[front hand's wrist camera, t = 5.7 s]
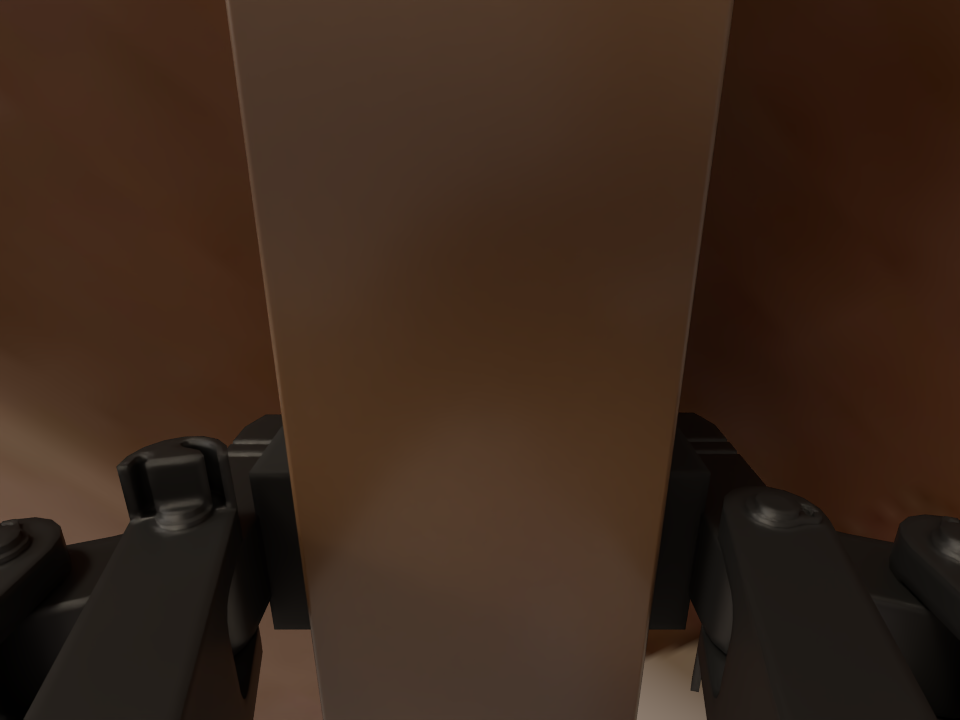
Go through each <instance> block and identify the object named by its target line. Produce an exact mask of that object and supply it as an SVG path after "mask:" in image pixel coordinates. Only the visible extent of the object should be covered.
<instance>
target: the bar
mask: <svg viewBox="0 0 960 720" xmlns="http://www.w3.org/2000/svg"><path fill="white" fill-rule="evenodd" d="M225 3H226V10H227V18H228V25H229V32H230V40H231V47H232V54H233V62H234V69H235V76H236V84H237V91H238V98H239V106H240V113H241V120H242V128H243V135H244V142H245V150H246V157H247V165H248V172H249V179H250V187H251V194H252V201H253V209H254V216H255V223H256V231H257V238H258V245H259V253H260V260H261V267H262V275H263V282H264V289H265V297H266V304H267V311H268V319H269V326H270V333H271V341H272V348H273V356H274V363H275V370H276V378H277V385H278V392H279V400H280V407H281V414H282V422H283V429H284V436H285V444H286V451H287V458H288V466H289V473H290V480H291V488H292V495H293V502H294V510H295V517H296V524H297V532H298V539H299V547H300V554H301V561H302V569H303V576H304V583H305V591H306V598H307V605H308V613H309V620H310V627H311V635H312V642H313V649H314V657H315V664H316V671H317V679H318V686H319V693H320V701H321V708H322V715H323V720H636V719H637V712H638V704H639V697H640V690H641V682H642V675H643V668H644V660H645V653H646V646H647V638H648V631H649V624H650V616H651V609H652V602H653V594H654V587H655V580H656V572H657V565H658V557H659V550H660V543H661V535H662V528H663V521H664V513H665V506H666V499H667V491H668V484H669V477H670V469H671V462H672V455H673V447H674V440H675V433H676V425H677V418H678V410H679V403H680V396H681V388H682V381H683V374H684V366H685V359H686V352H687V344H688V337H689V330H690V322H691V315H692V308H693V300H694V293H695V285H696V278H697V271H698V263H699V256H700V249H701V241H702V234H703V227H704V219H705V212H706V205H707V197H708V190H709V183H710V175H711V168H712V161H713V153H714V146H715V138H716V131H717V124H718V116H719V109H720V102H721V94H722V87H723V80H724V72H725V65H726V58H727V50H728V43H729V36H730V28H731V21H732V13H733V6H734V0H225Z"/></svg>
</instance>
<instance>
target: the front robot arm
mask: <svg viewBox="0 0 960 720" xmlns="http://www.w3.org/2000/svg"><path fill="white" fill-rule="evenodd" d="M117 471H118V475H119V478H120V482H121V486H122V490H123V494H124V498H125V502H126V505H127V509H128V513H129V517H130V523H129V524H128V526H127V528H126V530H125V532H124V534H121V535H117V536H113V537H108V538H102V539H97V540H92V541H87V542H82V543H76V544H71V545H66V543H65V540H64V536H63V533H62V530H61V527H60V526H59V525H58V524H57V523H55V522H54V521H53V520H51V519H44V518H37V517H34V518H24V519H12V520H7V521H2V523H0V720H253V717H254V710H255V703H256V696H257V688H258V681H259V674H260V667H261V659H262V652H263V651H262V643H261V637H260V631H259V623H260V621H261V619H262V617H263V614H264V612H265V610H266V608H267V606H268V604H269V601H270V606H271V612H272V618H273V624H274V629H311V627H310V620H309V613H308V605H307V598H306V591H305V583H304V576H303V569H302V561H301V554H300V547H299V539H298V532H297V524H296V517H295V510H294V502H293V495H292V488H291V480H290V473H289V466H288V458H287V451H286V444H285V436H284V429H283V422H282V415H264V416H263V417H261V418H259V419H258V420H256V421H254V422H253V423H251V424H249V425H247V426H246V427H245V428H244V429H243V430H242V431H241V432H240V434H239V435H238V436H237V437H236V438H235V440H234V441H233V444H230V446H229V447H228V448H227V446H226V445H225V444H224V443H222V442H221V441H220V440H218V439H214V438H209V437H205V436H193V437H180V438H175V439H169V440H164V441H161V442H158V443H155V444H152V445H149V446H146V447H144V448H142V449H140V450H138V451H136V452H134V453H132V454H131V455H129V456H127V457H126V458H125V459H124V460H123V461H122V462H121V463H120V464H119V465H118V466H117ZM690 599H691V601H692V604H693V606H694V608H695V610H696V612H697V614H698V617H699V619H700V621H701V623H702V625H701V631H700V637H699V642H698V648H697V654H696V659H695V665H694V670H693V676H692V683H691V691H696V692H699V687H700V682H701V680H702V687H703V694H704V701H705V708H706V716H707V720H960V520H958V518H953V517H948V516H934V515H918V516H911V517H908V518H906V519H905V520H904V521H903V522H901V523H900V525H899V528H898V531H897V535H896V538H895V541H894V543H893V542H887V541H882V540H877V539H872V538H866V537H861V536H856V535H851V534H846V533H842V532H838V531H835V529H834V527H833V525H832V523H831V522H830V520H829V519H828V518H827V516H826V515H825V514H824V513H823V512H822V511H821V509H820V508H818V507H817V506H815V505H813V504H812V503H810V502H809V501H807V500H806V499H804V498H802V497H799V496H797V495H794V494H792V493H789V492H787V491H784V490H779V489H775V488H770V487H767V486H766V485H765V484H764V483H763V482H762V480H761V479H760V478H759V477H758V476H757V474H756V473H755V472H754V471H753V470H752V468H751V467H750V466H749V465H748V464H747V463H746V461H745V460H744V459H743V458H742V457H741V455H740V454H737V451H736V449H735V448H734V447H733V446H732V445H731V444H730V442H727V439H726V438H725V436H724V435H723V434H722V433H721V432H720V430H719V429H718V428H717V427H716V426H715V425H714V424H712V423H711V422H709V421H707V420H706V419H704V418H702V417H700V416H699V415H697V414H695V413H678V418H677V425H676V433H675V440H674V447H673V455H672V462H671V469H670V477H669V484H668V491H667V499H666V506H665V513H664V521H663V528H662V535H661V543H660V550H659V557H658V565H657V572H656V580H655V587H654V594H653V602H652V609H651V616H650V624H649V629H685V627H686V621H687V615H688V609H689V603H690Z"/></svg>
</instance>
